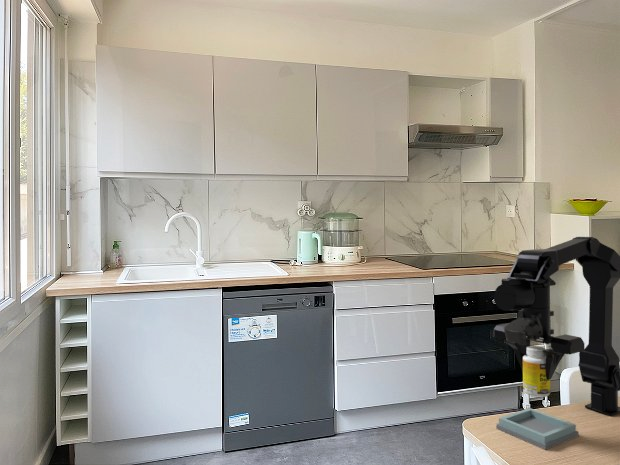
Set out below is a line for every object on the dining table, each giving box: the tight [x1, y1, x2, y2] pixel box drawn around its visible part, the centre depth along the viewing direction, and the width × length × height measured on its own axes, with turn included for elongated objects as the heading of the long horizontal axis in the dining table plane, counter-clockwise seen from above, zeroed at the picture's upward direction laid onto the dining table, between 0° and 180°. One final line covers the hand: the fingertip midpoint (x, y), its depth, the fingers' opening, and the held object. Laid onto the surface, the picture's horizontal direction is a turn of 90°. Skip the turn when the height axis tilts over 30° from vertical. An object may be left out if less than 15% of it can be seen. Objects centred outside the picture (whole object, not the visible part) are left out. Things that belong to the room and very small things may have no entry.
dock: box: [495, 407, 579, 451], centre depth 105 cm, size 12×12×2 cm
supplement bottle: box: [522, 345, 551, 398], centre depth 105 cm, size 6×6×10 cm
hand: (536, 375), depth 105 cm, fingers closed on supplement bottle, 5 cm apart
